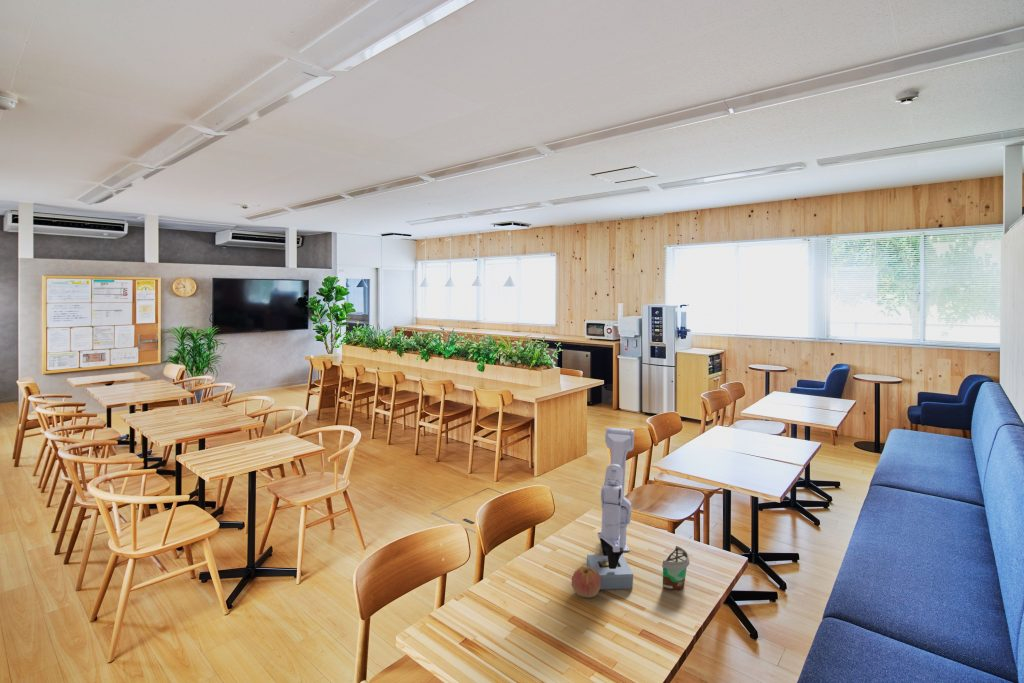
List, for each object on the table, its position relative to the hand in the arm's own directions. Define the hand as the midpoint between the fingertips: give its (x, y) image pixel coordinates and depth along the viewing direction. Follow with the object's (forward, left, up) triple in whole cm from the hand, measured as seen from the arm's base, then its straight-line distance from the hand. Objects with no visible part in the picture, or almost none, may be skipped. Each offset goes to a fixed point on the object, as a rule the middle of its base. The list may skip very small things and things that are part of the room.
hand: (609, 561), depth 168 cm
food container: (+5, +21, -6) cm, 22 cm away
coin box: (0, 0, -6) cm, 6 cm away
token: (0, 0, -6) cm, 6 cm away
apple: (+8, -9, -6) cm, 14 cm away
